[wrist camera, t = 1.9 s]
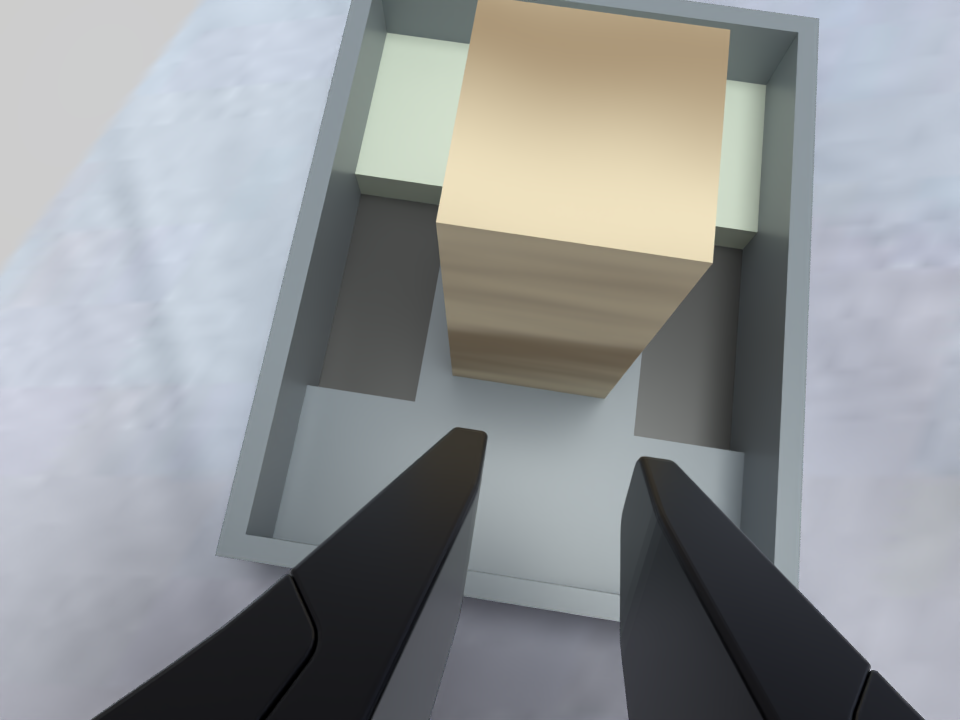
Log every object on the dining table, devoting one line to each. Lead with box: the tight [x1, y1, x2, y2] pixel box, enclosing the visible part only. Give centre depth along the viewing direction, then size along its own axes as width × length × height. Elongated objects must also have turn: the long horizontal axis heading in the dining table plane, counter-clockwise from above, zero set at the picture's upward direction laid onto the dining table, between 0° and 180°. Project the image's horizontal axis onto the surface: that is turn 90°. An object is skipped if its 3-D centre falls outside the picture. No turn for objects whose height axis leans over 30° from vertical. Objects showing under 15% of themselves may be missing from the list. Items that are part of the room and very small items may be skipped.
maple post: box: [436, 0, 730, 399], centre depth 17 cm, size 4×4×10 cm
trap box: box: [215, 0, 819, 622], centre depth 22 cm, size 18×14×4 cm
